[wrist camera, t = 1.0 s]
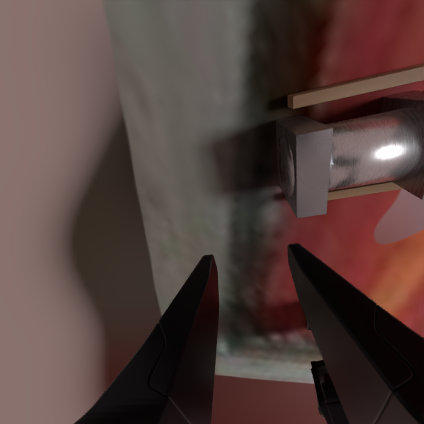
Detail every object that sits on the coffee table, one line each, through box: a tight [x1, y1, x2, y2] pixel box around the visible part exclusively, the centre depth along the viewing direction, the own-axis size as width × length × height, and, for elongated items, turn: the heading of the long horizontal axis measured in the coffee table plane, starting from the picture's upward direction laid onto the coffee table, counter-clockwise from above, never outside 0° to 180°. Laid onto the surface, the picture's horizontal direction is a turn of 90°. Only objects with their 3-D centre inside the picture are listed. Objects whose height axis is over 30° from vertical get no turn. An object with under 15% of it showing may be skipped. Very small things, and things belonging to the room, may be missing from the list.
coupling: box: [275, 91, 424, 218], centre depth 15 cm, size 10×6×6 cm, turn 102°
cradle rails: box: [288, 64, 424, 200], centre depth 17 cm, size 9×15×2 cm, turn 102°
